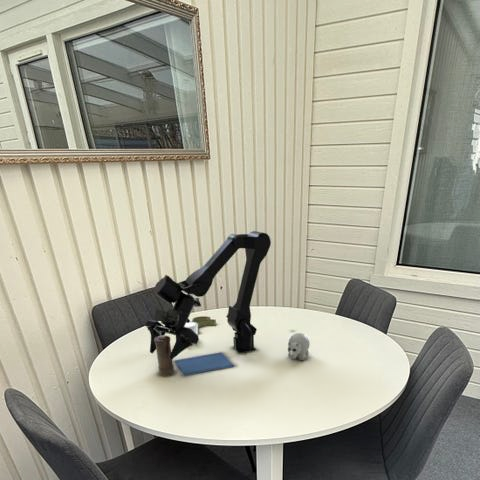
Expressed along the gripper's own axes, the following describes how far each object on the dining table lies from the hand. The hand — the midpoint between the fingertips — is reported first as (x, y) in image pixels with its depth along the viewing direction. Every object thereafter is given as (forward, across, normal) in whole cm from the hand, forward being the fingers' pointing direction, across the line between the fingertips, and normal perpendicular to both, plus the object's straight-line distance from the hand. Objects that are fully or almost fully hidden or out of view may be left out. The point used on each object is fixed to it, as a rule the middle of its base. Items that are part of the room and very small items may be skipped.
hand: (160, 355), depth 130 cm
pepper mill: (+4, 0, +6) cm, 7 cm away
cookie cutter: (-24, -23, +34) cm, 48 cm away
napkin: (-5, +6, +14) cm, 16 cm away
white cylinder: (-14, -13, +24) cm, 31 cm away
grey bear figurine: (-19, +30, +28) cm, 45 cm away
